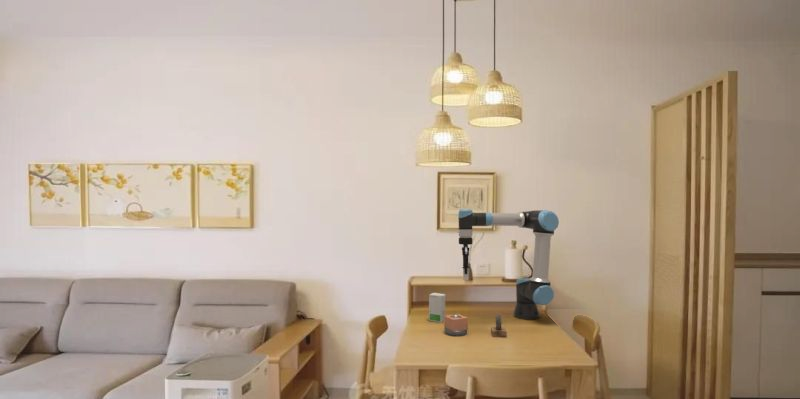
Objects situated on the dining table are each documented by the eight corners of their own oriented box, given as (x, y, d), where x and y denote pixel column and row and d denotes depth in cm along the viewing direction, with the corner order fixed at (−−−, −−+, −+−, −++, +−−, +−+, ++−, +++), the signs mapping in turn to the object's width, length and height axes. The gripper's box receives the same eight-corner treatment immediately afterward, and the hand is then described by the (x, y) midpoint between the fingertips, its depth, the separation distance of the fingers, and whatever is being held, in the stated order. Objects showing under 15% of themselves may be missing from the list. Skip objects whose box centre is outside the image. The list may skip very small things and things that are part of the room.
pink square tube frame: (458, 325, 229) (458, 313, 229) (467, 329, 220) (467, 317, 221) (444, 327, 225) (444, 315, 225) (453, 331, 217) (453, 319, 217)
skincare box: (428, 321, 247) (428, 294, 247) (432, 318, 252) (432, 292, 253) (441, 322, 243) (441, 295, 243) (446, 320, 248) (445, 293, 249)
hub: (466, 329, 228) (466, 312, 228) (468, 336, 216) (467, 318, 216) (444, 329, 229) (444, 311, 229) (444, 336, 217) (444, 317, 218)
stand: (504, 333, 222) (504, 314, 222) (506, 337, 215) (506, 317, 215) (491, 332, 222) (490, 313, 223) (492, 336, 215) (492, 317, 216)
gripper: (458, 236, 240) (458, 277, 240) (459, 237, 227) (459, 281, 227) (471, 236, 239) (471, 278, 239) (473, 237, 226) (473, 281, 226)
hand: (465, 279), depth 233 cm, fingers closed
